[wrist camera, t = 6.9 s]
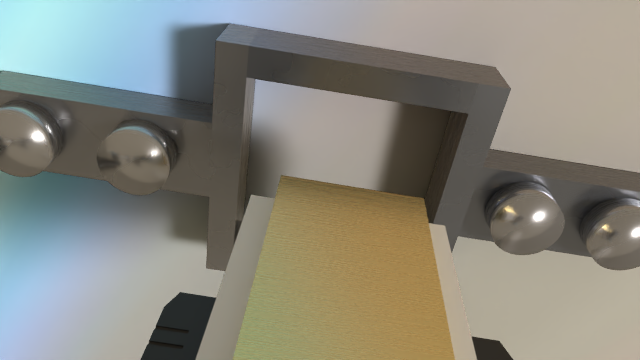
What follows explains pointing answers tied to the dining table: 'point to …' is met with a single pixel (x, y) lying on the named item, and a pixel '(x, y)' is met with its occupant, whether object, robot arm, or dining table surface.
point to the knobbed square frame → (337, 76)
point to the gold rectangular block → (345, 279)
